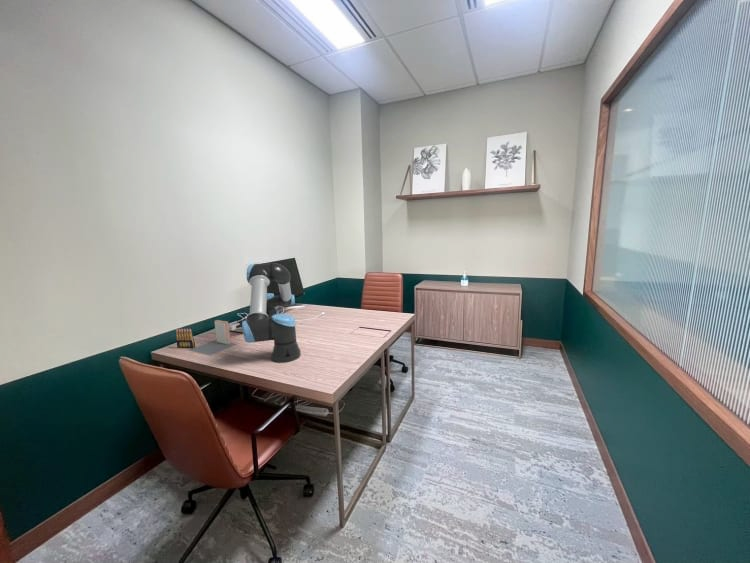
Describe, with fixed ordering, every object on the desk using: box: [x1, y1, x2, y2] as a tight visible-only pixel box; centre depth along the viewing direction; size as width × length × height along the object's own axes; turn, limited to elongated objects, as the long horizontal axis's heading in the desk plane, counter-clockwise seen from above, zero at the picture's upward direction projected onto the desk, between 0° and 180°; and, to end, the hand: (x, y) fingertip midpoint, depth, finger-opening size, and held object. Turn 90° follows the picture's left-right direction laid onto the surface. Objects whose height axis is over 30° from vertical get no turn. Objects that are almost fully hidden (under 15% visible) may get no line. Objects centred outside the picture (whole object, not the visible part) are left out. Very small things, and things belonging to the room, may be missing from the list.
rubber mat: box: [188, 339, 238, 356], centre depth 177 cm, size 20×18×1 cm
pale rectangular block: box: [214, 319, 232, 344], centre depth 182 cm, size 10×2×14 cm, turn 64°
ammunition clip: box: [175, 328, 196, 349], centre depth 176 cm, size 11×2×12 cm, turn 82°
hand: (230, 328), depth 188 cm, fingers closed
